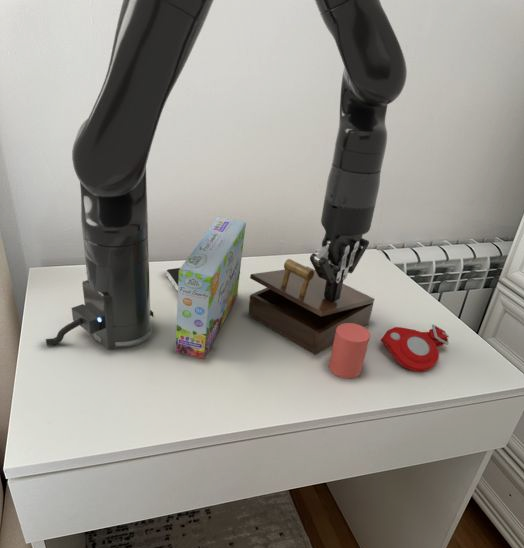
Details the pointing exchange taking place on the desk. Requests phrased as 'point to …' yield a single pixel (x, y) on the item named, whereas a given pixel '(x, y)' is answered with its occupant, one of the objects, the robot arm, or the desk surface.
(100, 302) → the robot arm
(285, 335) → the chest
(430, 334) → the red rounded piece
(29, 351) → the desk surface
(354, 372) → the pink cylinder
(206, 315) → the snack box
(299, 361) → the desk surface
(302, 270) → the lid
